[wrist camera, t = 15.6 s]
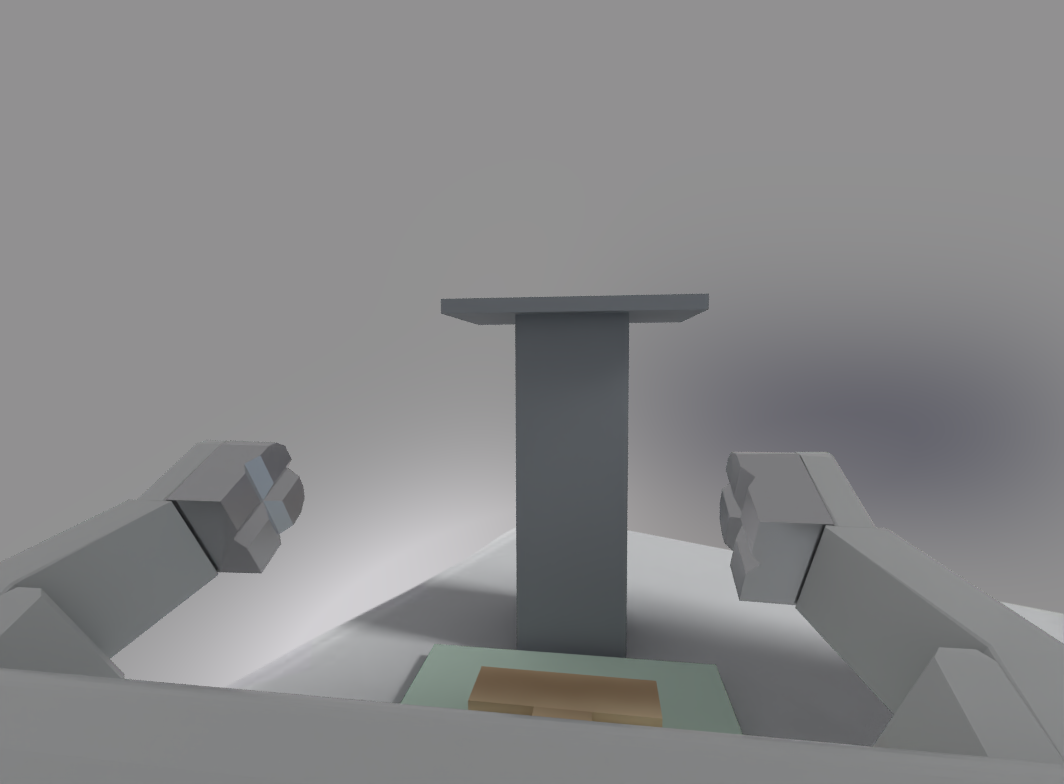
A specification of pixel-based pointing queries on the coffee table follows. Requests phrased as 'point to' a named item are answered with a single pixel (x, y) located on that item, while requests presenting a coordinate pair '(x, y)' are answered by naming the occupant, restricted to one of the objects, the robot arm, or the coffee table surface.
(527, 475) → the stand
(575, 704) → the t bar
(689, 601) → the coffee table surface
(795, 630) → the coffee table surface
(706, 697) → the mat
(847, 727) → the coffee table surface
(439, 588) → the coffee table surface
